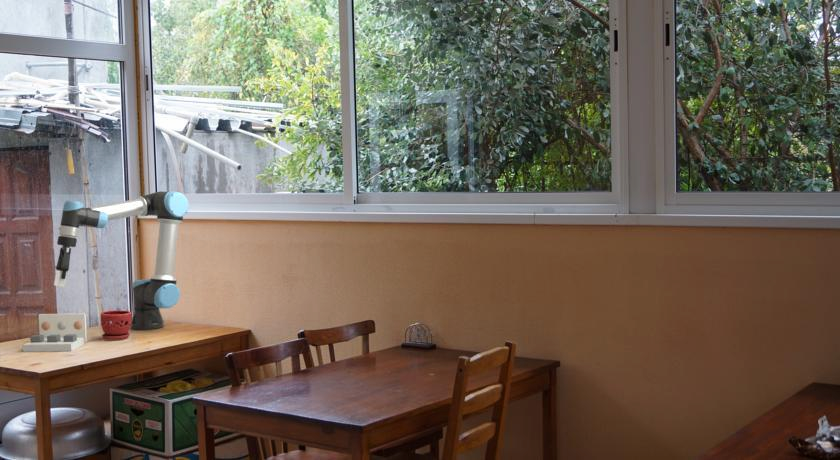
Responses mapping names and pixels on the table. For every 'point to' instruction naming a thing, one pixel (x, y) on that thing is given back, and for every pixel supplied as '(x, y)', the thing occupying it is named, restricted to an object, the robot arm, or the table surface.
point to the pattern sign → (63, 324)
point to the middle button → (53, 338)
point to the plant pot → (116, 324)
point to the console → (52, 345)
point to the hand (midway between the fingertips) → (59, 286)
